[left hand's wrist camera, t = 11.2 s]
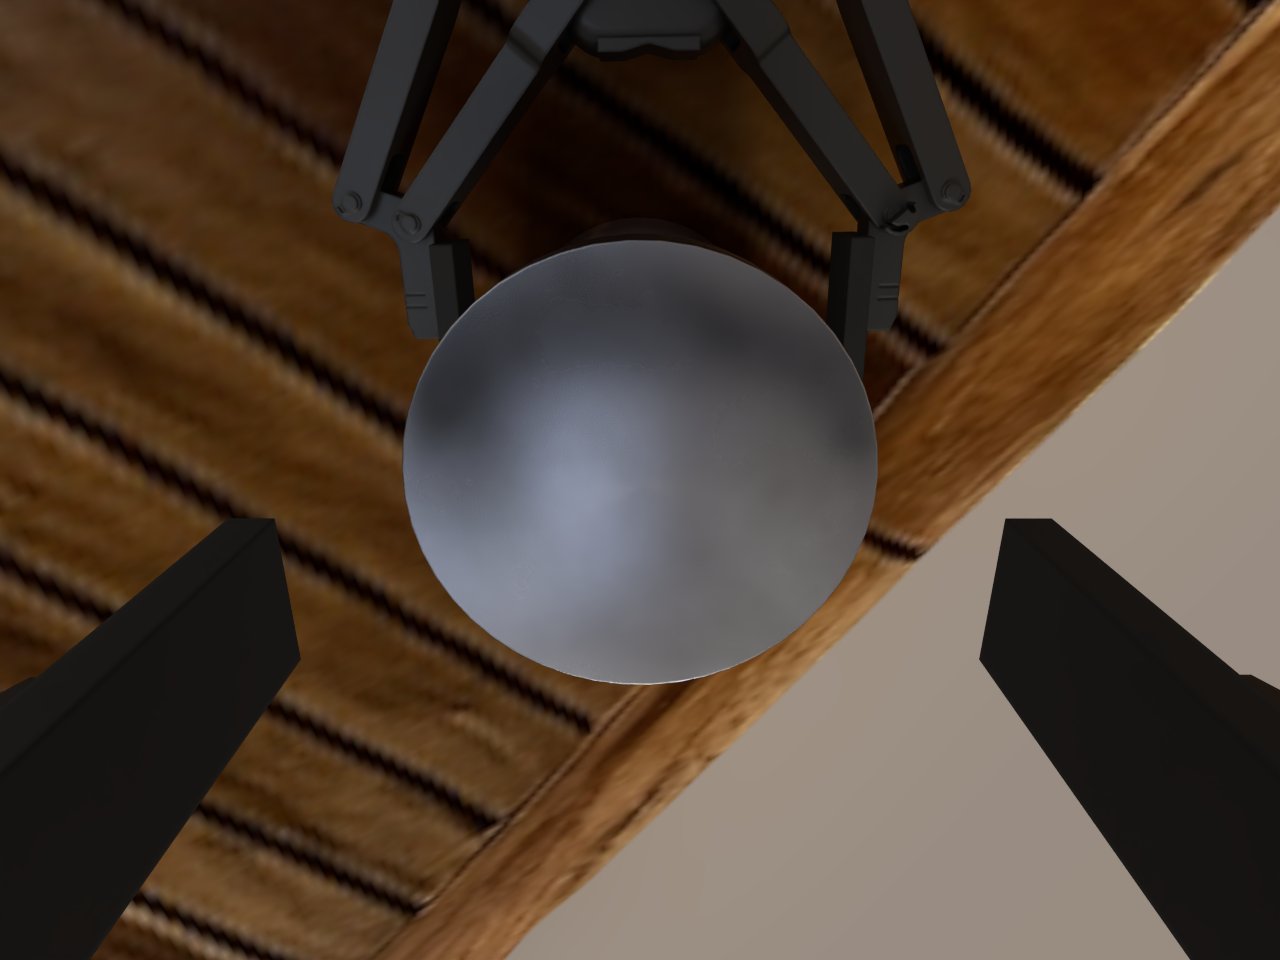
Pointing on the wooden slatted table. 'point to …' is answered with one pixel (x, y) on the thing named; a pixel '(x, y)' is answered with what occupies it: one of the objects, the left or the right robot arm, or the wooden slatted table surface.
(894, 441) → the wooden slatted table surface
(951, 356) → the wooden slatted table surface
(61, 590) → the wooden slatted table surface
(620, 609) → the lid
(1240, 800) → the left robot arm
